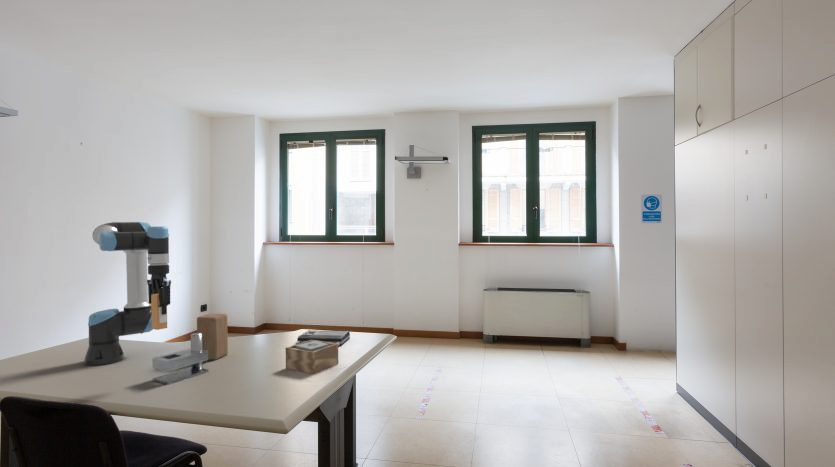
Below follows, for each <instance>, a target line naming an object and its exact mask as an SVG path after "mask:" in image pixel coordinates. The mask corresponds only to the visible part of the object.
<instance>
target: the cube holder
mask: <svg viewBox="0 0 835 467" xmlns="http://www.w3.org/2000/svg"><path fill="white" fill-rule="evenodd" d="M311 341H317V340H309V341H306V342H302V343H299V344H296V345H300V344H304V343H307V342H311ZM317 342H322V343H326V344H329V346H328V347H325V348H322V349H319V350H316V351H307V350H301V349H296V345H295V344H294V345H290V346H286V347H285V369H287V368H288V370H292V369H293V371H298V372H303V373H306V374H310V375H311V374H312V375H314V374H316V373H319V372H322V371H324V370H327V369H329V368H331V367H334V366H336V365H337V366H338V364H339V346H338V344H336V343H330V342H323V341H317Z"/></svg>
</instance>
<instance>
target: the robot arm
mask: <svg viewBox="0 0 835 467" xmlns="http://www.w3.org/2000/svg"><path fill="white" fill-rule="evenodd" d="M169 233H170V232H169V228H168V227H167V226H165V225H163V226H157V225H156V226H152V225H151V224H150V223H149V222H142V221H140V222H139V221H133V222H132V221H131V222H129V221H127V222H126V221H125V222H124V221H123V222H122V221H121V222H118V221H117V222H116V221H113V222H105V223H103V224H100V225H99V226H97V227H95V228H94V229H93V232H92V239H93V241H94V242H95V243H96V244H97V245H99V249H100V250H101V252H117V251H118V252H119V251H122V252H124V253H125V257H126V260H125V261H126V264H125V266H126V300H127V301H126V304H125V305H124V306H123V310H119V309H118V308H108V309H103V310H98V311H95V312H93V313H91V314H90V315H89V316H88V324H87V326H88V347H87V351H86V354H85V356H84V358H83V360H84V363H83V364H84V365H85V366H102V365H110V364H113V363H117V362H120V361H122V360H124V357H125V353H124V351H123V348H122V347H121V344H120V337H123V336H131V335H132V336H133V335H138V334H141V335H142V334H145V333H150V332H151V331H153V330H154V329H152V308H151V294H159V301H160V305H159V306H158V307H159V323H164V322H167V323H168V306H169V305H171V284H172V281H171V279H169V280H168V279H167V274H169V273H170V265H169V263H170V252H169V251H170V248H169V246H170V244H169V240H170V239H169V237H170V234H169ZM148 275H150V279H148Z"/></svg>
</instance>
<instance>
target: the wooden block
mask: <svg viewBox="0 0 835 467" xmlns="http://www.w3.org/2000/svg"><path fill="white" fill-rule="evenodd" d="M196 333H202V349H203V350H208V360H207V361H215V360H219V359H220V358H224V357H225V356H227V355H228V353H229V352H228V351H229V350H228V347H229V346H228V344H229V343H228V340H229V339H228V336H229V334H228V314H226V313H207V314H204V315H200V316H198V317H197V318H196Z"/></svg>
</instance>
